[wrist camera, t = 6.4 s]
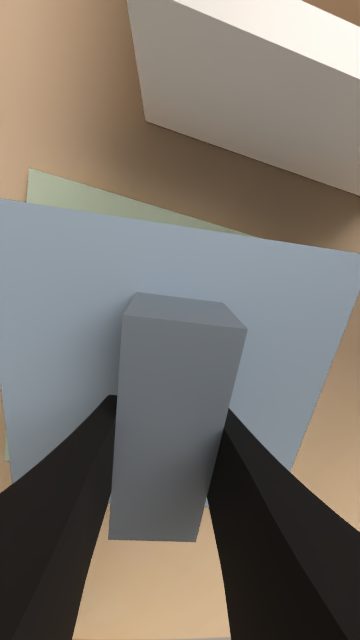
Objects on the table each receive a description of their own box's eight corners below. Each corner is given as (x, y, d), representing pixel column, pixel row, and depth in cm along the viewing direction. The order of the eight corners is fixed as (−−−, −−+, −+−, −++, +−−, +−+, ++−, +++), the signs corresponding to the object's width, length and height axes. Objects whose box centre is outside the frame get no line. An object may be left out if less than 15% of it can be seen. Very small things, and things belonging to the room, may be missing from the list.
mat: (350, 267, 11) (356, 267, 11) (248, 492, 15) (250, 498, 15) (34, 170, 10) (29, 167, 9) (8, 454, 13) (3, 460, 13)
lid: (329, 252, 10) (468, 261, 5) (258, 469, 14) (304, 582, 9) (23, 206, 9) (-134, 167, 4) (39, 456, 13) (-33, 577, 8)
